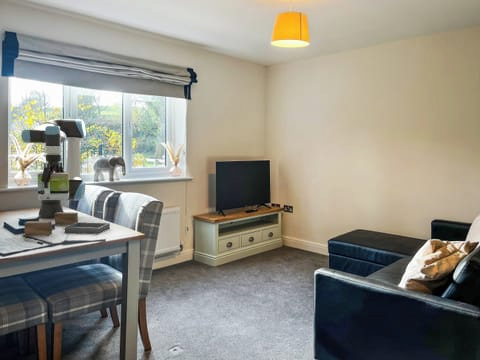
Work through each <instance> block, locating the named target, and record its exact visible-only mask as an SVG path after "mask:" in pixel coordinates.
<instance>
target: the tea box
mask: <svg viewBox="0 0 480 360" xmlns="http://www.w3.org/2000/svg"><path fill="white" fill-rule="evenodd" d="M42 174H43V172H39V173H38V174H37V200H38V201H41V200H61V201H69V200H68V198H69V173H66V172H64V173H55V172H53V173H52V174H51V177H50V180H49V182H50V194H45V190H44V182H42V181H41V179H42Z"/></svg>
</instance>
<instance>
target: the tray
mask: <svg viewBox="0 0 480 360" xmlns="http://www.w3.org/2000/svg"><path fill="white" fill-rule="evenodd" d="M110 228H111V224H110V222H86V221H85V222H80V221H78V222H77V223H74V224H72V225H65V227H64V233H65V234H90V235H91V234H92V235H94V234H95V235H99V234H102V233H103V231H104V232H106V231H107V230H109V229H110ZM101 232H102V233H101Z"/></svg>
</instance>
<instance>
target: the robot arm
mask: <svg viewBox="0 0 480 360" xmlns="http://www.w3.org/2000/svg"><path fill="white" fill-rule="evenodd" d="M86 131H87V130H86V125H85V123H84V121H83V119H79V118H78V119H77V118H55V119H51V120H47V121H44V122H43V124H42V125H40V126H38V127H35V128H33V129H23V130H22V131H21V140H22V142H23V143H25V144H45V145H44V147H45V161H46V162H47V163H44V164H43V171H42V173H43V174H42V179H41V181H42V182H44V190H45V194H50V182H49V180H50V177H51V174H52V173H69V198H68V200H67V201H81V200H82V199H83V198H84V197H85V194H86V183H85V182H83V178H81V149H82V147H81V143H82V141H83V140H84V138H85V137H86V135H87V134H86V133H87V132H86ZM65 142H66V153H65V154H66V158H65V159H66V160H65V161H66V162H65V166H66V169H65V170H66V172H65V170H64V167H63V162H61V161H62V156H61V153H62V152H61V151H62V150H61V144H63V143H65ZM40 203H41V204H40V208H39V212H38V218H40V219H55V213H57V212H65V211H64V209H63V206H62V200H40Z"/></svg>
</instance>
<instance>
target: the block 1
mask: <svg viewBox="0 0 480 360" xmlns="http://www.w3.org/2000/svg"><path fill="white" fill-rule="evenodd" d="M23 225H24V237H49V236H51V235H53V229H52V228H53V227H52V226H53V225H52V221H51V220H50V221H45V220H44V221H39V220H38V221H32V220H31V221H25V222H24V223H23Z"/></svg>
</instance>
